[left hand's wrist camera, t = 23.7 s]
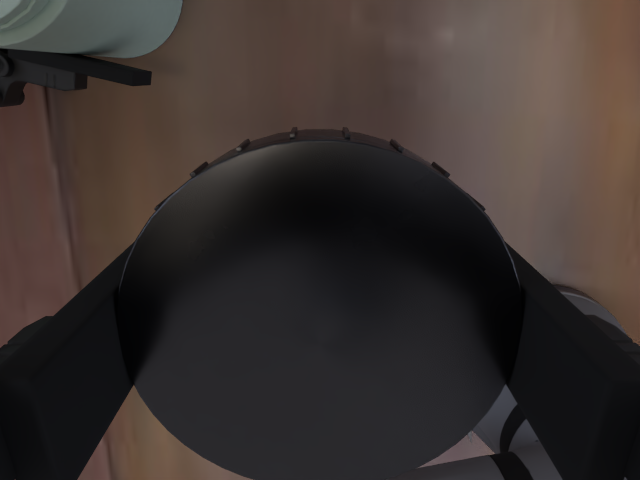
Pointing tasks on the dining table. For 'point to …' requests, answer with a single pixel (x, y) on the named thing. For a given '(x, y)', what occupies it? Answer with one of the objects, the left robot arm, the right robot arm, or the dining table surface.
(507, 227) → the dining table surface
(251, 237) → the lid
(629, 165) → the dining table surface
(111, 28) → the jar
